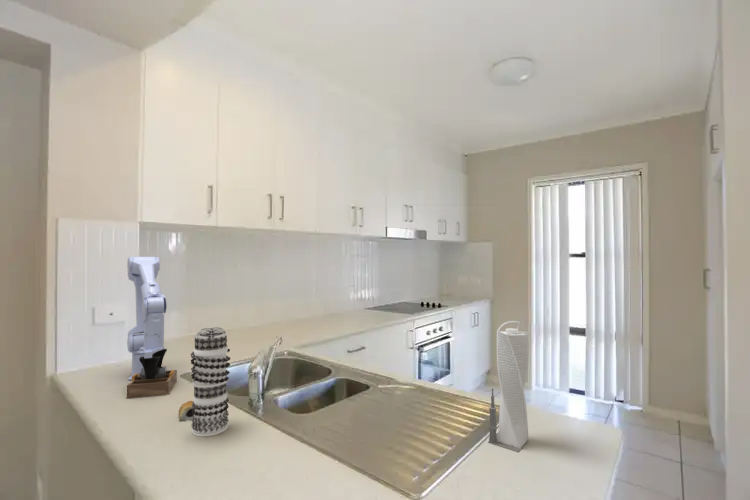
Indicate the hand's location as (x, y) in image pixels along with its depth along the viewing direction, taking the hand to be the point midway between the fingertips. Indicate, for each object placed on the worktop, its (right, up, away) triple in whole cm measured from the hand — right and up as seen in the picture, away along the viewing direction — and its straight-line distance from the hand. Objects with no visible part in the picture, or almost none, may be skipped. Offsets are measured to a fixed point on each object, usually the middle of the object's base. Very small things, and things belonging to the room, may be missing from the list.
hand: (153, 375), depth 123 cm
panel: (0, -4, 0) cm, 4 cm away
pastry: (+22, -5, -20) cm, 30 cm away
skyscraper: (+105, -4, -36) cm, 111 cm away
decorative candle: (+31, -4, -29) cm, 43 cm away
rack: (0, -5, 0) cm, 5 cm away
